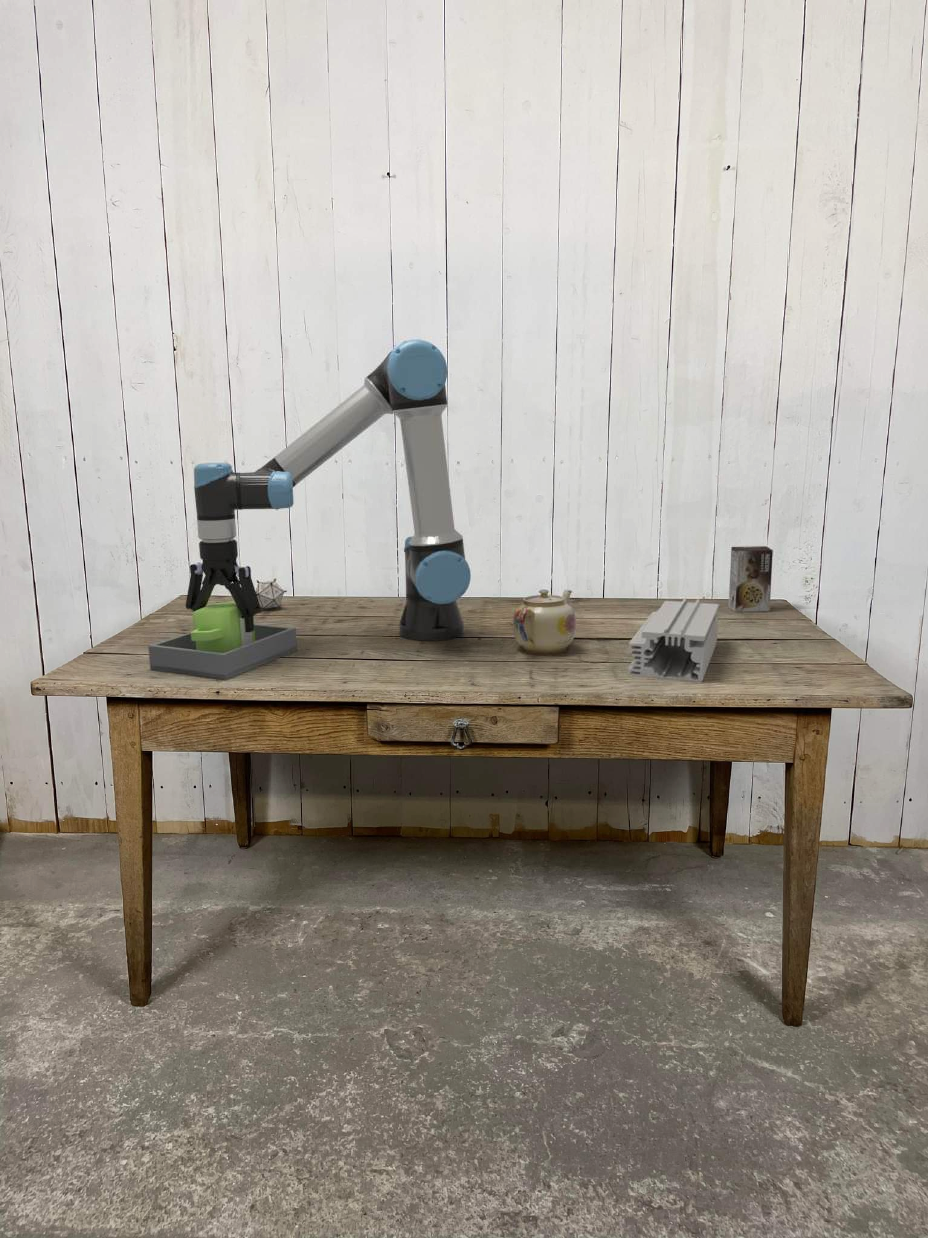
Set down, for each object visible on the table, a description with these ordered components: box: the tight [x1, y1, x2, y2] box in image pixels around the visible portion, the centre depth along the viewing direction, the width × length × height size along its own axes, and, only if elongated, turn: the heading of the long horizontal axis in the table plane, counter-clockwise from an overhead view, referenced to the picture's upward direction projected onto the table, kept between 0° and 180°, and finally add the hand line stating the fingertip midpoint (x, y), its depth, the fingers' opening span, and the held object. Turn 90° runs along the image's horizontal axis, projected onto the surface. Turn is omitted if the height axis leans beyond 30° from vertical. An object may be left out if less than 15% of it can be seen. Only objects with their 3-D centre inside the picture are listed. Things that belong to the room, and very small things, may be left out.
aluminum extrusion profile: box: [626, 598, 720, 683], centre depth 182 cm, size 14×31×10 cm, turn 159°
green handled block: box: [190, 601, 255, 653], centre depth 184 cm, size 18×10×10 cm, turn 170°
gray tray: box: [147, 623, 298, 681], centre depth 184 cm, size 19×24×5 cm
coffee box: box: [728, 545, 774, 613], centre depth 226 cm, size 9×6×16 cm
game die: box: [255, 577, 288, 612], centre depth 233 cm, size 9×8×10 cm
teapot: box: [512, 589, 577, 656], centre depth 190 cm, size 20×14×13 cm
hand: (225, 644), depth 184 cm, fingers closed on green handled block, 10 cm apart
